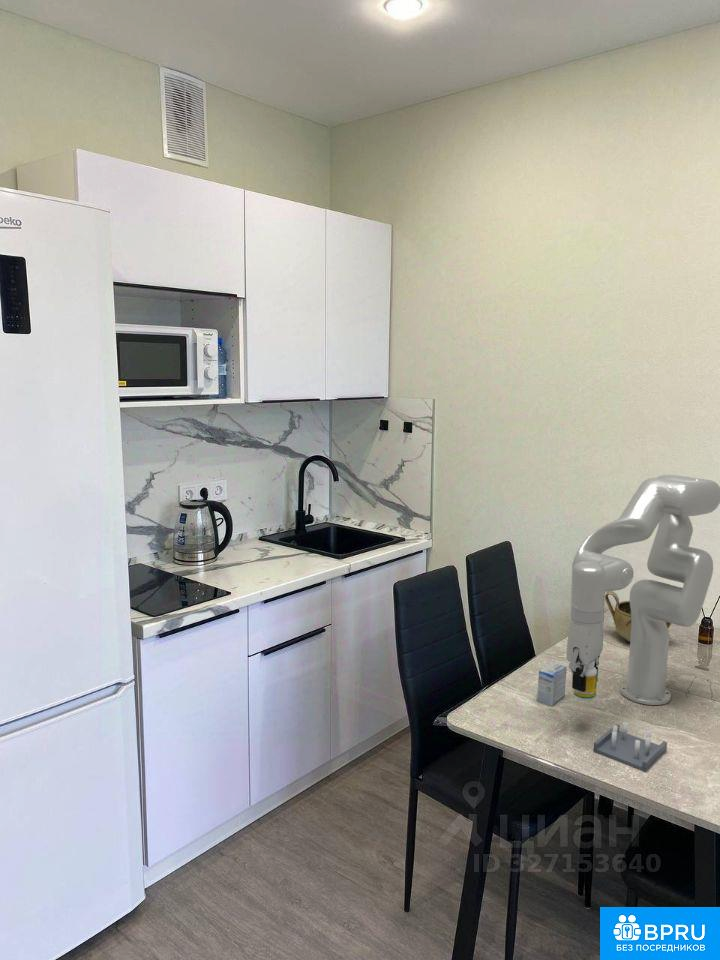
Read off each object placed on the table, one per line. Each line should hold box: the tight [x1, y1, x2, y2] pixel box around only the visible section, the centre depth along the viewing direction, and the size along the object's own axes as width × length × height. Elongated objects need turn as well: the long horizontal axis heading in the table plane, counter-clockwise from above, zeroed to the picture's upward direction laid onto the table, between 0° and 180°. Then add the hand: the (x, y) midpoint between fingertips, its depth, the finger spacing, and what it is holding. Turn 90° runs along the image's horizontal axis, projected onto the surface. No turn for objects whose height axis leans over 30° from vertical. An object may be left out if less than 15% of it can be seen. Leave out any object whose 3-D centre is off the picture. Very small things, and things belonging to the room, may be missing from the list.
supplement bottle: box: [572, 659, 598, 702], centre depth 173 cm, size 5×5×10 cm
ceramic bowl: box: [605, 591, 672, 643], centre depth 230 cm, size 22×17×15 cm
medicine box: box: [536, 661, 568, 707], centre depth 190 cm, size 8×4×9 cm, turn 141°
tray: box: [592, 721, 668, 773], centre depth 165 cm, size 12×12×5 cm
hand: (584, 684), depth 174 cm, fingers closed on supplement bottle, 5 cm apart
